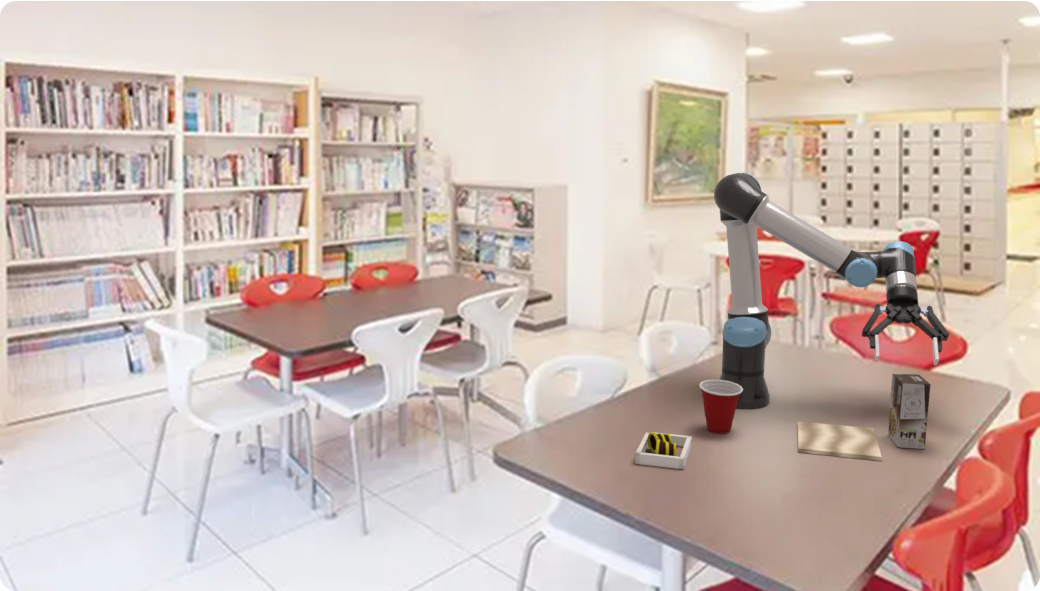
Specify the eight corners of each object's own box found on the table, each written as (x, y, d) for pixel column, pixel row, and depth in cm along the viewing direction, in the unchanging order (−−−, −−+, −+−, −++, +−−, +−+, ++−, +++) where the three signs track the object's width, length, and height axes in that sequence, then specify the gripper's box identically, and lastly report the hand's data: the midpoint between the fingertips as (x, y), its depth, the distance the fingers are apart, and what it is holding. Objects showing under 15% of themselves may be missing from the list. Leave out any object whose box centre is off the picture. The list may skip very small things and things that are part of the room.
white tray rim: (635, 463, 177) (635, 453, 176) (646, 441, 191) (646, 431, 190) (683, 469, 173) (683, 458, 173) (691, 446, 187) (691, 436, 187)
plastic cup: (717, 440, 191) (719, 393, 188) (689, 427, 200) (690, 383, 198) (750, 433, 196) (752, 387, 193) (721, 420, 205) (722, 377, 203)
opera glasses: (678, 463, 177) (678, 443, 176) (655, 464, 176) (656, 443, 176) (668, 448, 186) (668, 428, 185) (646, 448, 186) (647, 429, 185)
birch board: (798, 452, 182) (798, 448, 182) (797, 425, 201) (797, 421, 201) (881, 461, 177) (881, 456, 176) (872, 432, 195) (873, 428, 195)
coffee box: (926, 449, 183) (931, 384, 180) (897, 447, 184) (902, 383, 182) (914, 436, 192) (919, 373, 189) (887, 434, 193) (891, 372, 190)
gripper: (951, 302, 206) (958, 371, 194) (850, 298, 214) (851, 364, 202) (956, 285, 200) (965, 355, 188) (852, 282, 208) (854, 349, 196)
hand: (906, 360), depth 195 cm, fingers open, 13 cm apart
